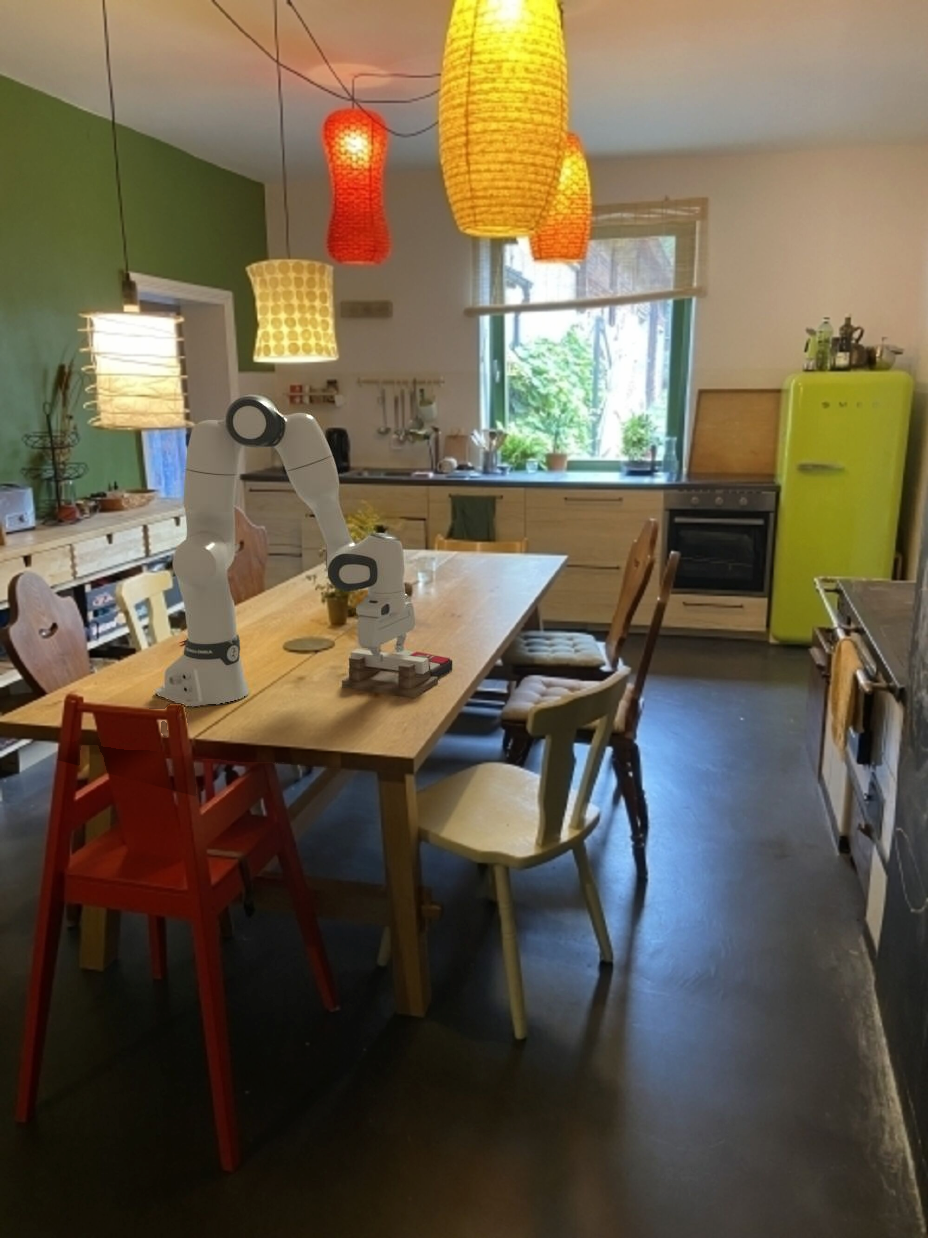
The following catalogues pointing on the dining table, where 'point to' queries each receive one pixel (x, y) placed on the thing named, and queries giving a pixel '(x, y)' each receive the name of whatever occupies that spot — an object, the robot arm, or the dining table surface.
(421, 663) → the clay strip
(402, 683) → the rack
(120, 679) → the dining table surface
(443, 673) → the calculator
